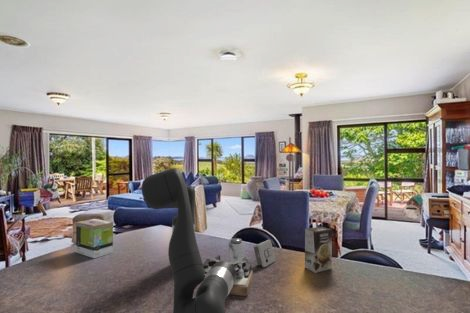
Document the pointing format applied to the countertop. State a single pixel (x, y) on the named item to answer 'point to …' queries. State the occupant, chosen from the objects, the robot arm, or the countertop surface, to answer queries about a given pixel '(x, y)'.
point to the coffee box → (318, 249)
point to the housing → (236, 252)
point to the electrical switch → (264, 253)
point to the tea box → (94, 237)
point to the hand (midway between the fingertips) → (231, 259)
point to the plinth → (242, 286)
